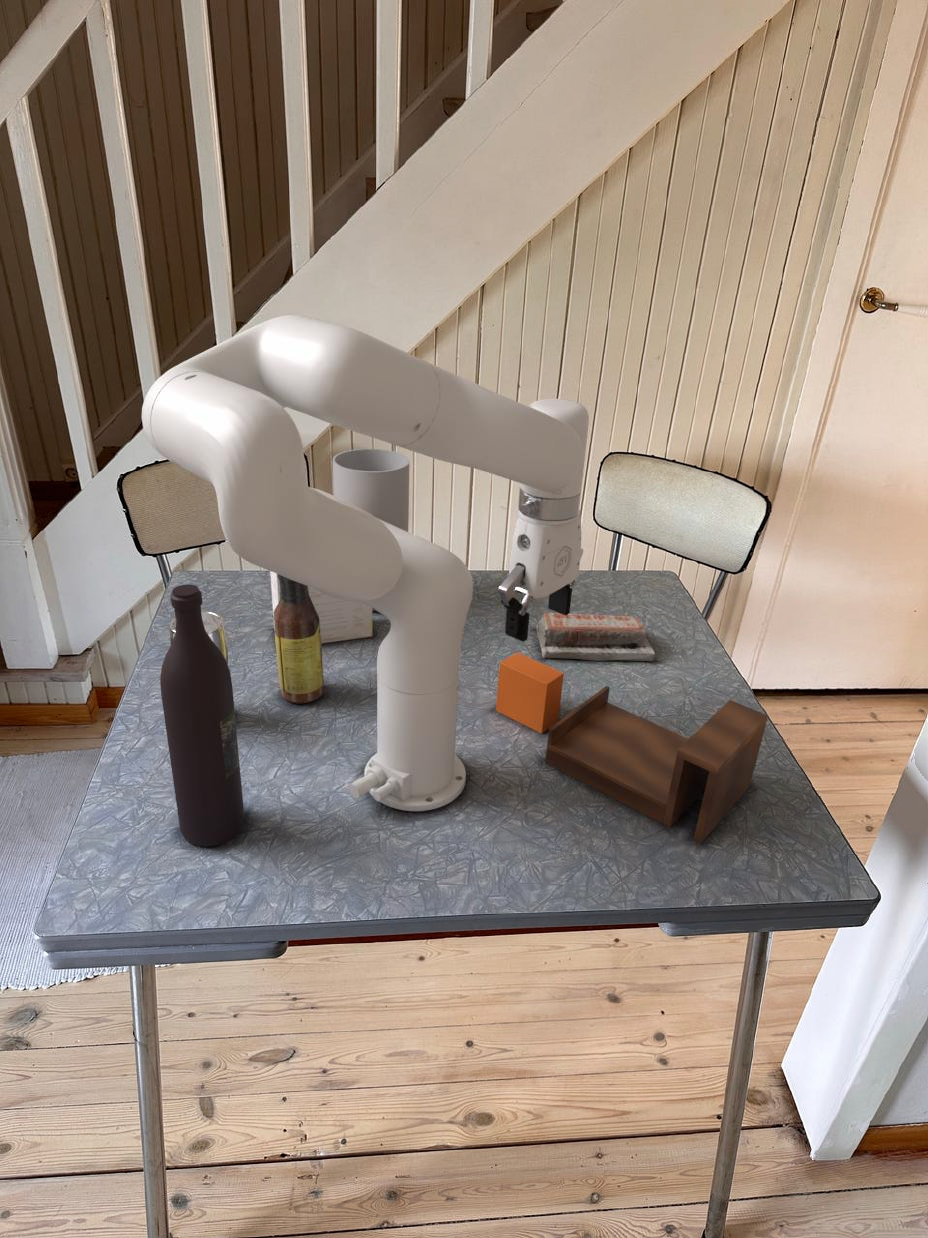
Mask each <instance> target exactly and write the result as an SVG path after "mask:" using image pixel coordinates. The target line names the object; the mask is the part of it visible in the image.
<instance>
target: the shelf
mask: <svg viewBox="0 0 928 1238" xmlns="http://www.w3.org/2000/svg"><path fill="white" fill-rule="evenodd" d="M610 690H611V687H610V686H608V685H605V686H604V687H602V689H600V690H599V691H597V692H596V693H595V694H593V695H592V696H590V697H589V698H588V699H587V700H585V701H583V702H582V703H581V704H580V705H579V706H577V707H576V708H574V709H573V710H572V711H570V712H569V713H567V714H566V715H565V716H563V717H562V718H561V719H559V720H558V722H557V723H555V724H554V725H553V726H551V727H550V728H549V729H548V734H547V735H548V736H547V744H546V750H545V751H546V753H545V761H544V764H546V765H549V766H550V767H552V768H554V769H556V770H557V771H560V772H562V773H564V774H565V775H568V776H569V777H572V778H573V779H575V780H577V781H578V782H579V781H580V783H583V784H584V785H587V786H589V787H591V788H593V789H594V790H596V791H598V792H600V793H602V794H605V795H606V796H608V797H609V798H612V799H614V800H616V801H618V802H620V803H621V804H624V805H625V806H627V807H629V808H631V809H633V810H635V811H637V812H639V813H641V814H642V815H645V816H647V817H649V818H650V819H652V820H654V821H656V822H658V823H659V824H662V825H664V826H666V827H668V828H671V827H672V826H673V825H674V824H675V823H676V822H677V820H679V818H680V817H681V816H682V815H683V814H684V813H685V812H686V811H687V810H688V808H690V807H691V805H692V804H694V802H695V801H696V800H697V799H698V798H699V797H700V796H701V795H702V794H703V797H702V802H701V806H700V810H699V814H698V817H697V822H696V827H695V831H694V834H693V835H694V836H693V841H695V842H697V843H699V844H702V843H703V842H704V841H705V840H706V838H707V837H708V836H709V835H710V834H711V833H712V832H713V830H714V829H715V828H716V827H717V826H718V824H719V823H721V821H722V820H723V819H724V817H725V816H726V815H727V814H728V813H729V812H730V811H731V809H732V808H733V807H734V806H735V805H736V804H737V802H738V801H739V800H740V799H741V798H742V797H743V795H744V794H745V793H746V792H747V790H748V789H749V788H750V787H751V783H752V779H753V776H754V773H755V772H754V771H755V767H756V764H757V760H758V757H759V754H760V753H759V752H760V749H761V745H762V741H763V738H764V733H765V730H766V726H767V722H768V719H769V715H768V714H765V713H763V712H761V711H759V710H756V709H753V708H751V707H749V706H746V705H744V704H741V703H739V702H737V701H734V700H733V699H732V700H731V699H729V700H728V701H727V702H726V703H725V704H723V706H721V707H720V709H718V710H717V711H716V712H715V713H714V714H713V715H712V716H711V717H710V718H709V719H708V720H707V721H706V722H705V723H704V724H703V725H702V726H700V728H699V729H697V730H696V731H695V732H694V733H693V734H692V735H691V736H690V737H689V738H688V737H686V736H684V735H681V734H679V733H677V732H675V731H672V730H671V729H668V728H666V727H664V726H661V725H659V724H657V723H654V722H653V721H650V720H648V719H646V718H644V717H641V716H640V715H637V714H635V713H633V712H630V711H628V710H626V709H624V708H621V707H619V706H618V705H614V704H612V703H611V702H609V696H610Z"/></svg>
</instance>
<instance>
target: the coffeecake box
mask: <svg viewBox="0 0 928 1238" xmlns="http://www.w3.org/2000/svg"><path fill="white" fill-rule="evenodd" d="M269 575H270V587H271V588H270V590H271V602H272V615H273V616H272V617H273V619H274V610H275V608H276V606H277V605H278V603H279V600H280V582H279V579H278V577H277V573H274V572H272V571H269ZM308 591H309V596H310V598H311V600H312V603H313V605H314V607H315V609H316V612H317V614H318V616H319V620H320V635H321V644H327V643H335V642H342V641H348V640H349V641H351V640H355V639H356V640H357V639H363V638H371V637H373V629H374V627H373V611H372V607H370V606H369V605H367V604H365V603H363V602H355V601H345V600H341V599H336V598H333V597H331V596H328V595H326V594H323V593H321V592H319V591H317V590H315V589H313V588H311V587H309V586H308ZM273 627H274V628H273V629H274V631H275V624H274V623H273Z"/></svg>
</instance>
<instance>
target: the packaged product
mask: <svg viewBox="0 0 928 1238" xmlns="http://www.w3.org/2000/svg"><path fill="white" fill-rule="evenodd" d="M535 627H536V633H537V638H538V642H539V646H540V651H541V655H542V658H543V659H568V660H569V659H571V660H585V661H586V660H587V661H595V662H596V661H598V662H601V661H637V662H638V661H639V662H653V661H654V658H655V656H656V653H655V651H654V649H653V648H652V645H651V643H650V642H649V640H648V638H647V632H646V628H645V625H644V623H643V622H642V621H640V620H639V618H637V617H635V616H627V615H609V614H586V613H584V614H583V613H569V614H568V615H563V614H560V613H558V612H544V613H543V615H542V617H541V619H540V620H539V621H538V623H536V624H535Z"/></svg>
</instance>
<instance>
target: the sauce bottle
mask: <svg viewBox="0 0 928 1238" xmlns="http://www.w3.org/2000/svg"><path fill="white" fill-rule="evenodd" d="M277 577H278V579H279V582H280V600H279V603H278V605H277V606H276V608H275V610H274V618H273V625H274V624H275V630H274V642H275V650H276V651H275V652H276V662H277V672H278V673H277V674H278V684H279V688H280V690H279V691H280V693H281V696H282V697H283V699H284V700H285V701H287V702H290V703H292V704H308V703H311V702H313V701H315V700H318V699H320V697H322V695H323V693H324V682H325V679H324V666H323V664H324V663H323V652H322V651H323V650H322V643H321V635H320V620H319V616H318V614H317V612H316V609H315V607H314V605H313V603H312V600H311V598H310V596H309V591H308V586H306V585H304V584H301V583H298V582H296V581H293V580H290V579H288V578H286V577H284V576H282V575H279V574H277Z"/></svg>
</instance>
